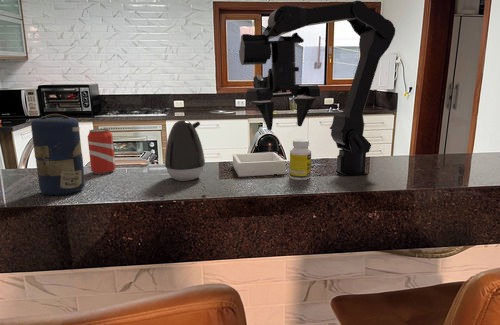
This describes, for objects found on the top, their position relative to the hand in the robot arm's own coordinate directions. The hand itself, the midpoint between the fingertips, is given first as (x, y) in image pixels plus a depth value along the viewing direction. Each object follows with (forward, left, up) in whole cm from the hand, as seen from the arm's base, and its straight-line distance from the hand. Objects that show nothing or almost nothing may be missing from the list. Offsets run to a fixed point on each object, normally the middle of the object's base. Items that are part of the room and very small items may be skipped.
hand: (285, 128), depth 90 cm
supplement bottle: (-4, +1, -13) cm, 14 cm away
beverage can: (+48, -17, -13) cm, 53 cm away
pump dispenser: (+25, -5, -13) cm, 29 cm away
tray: (+5, -10, -13) cm, 17 cm away
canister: (+53, +1, -13) cm, 55 cm away
